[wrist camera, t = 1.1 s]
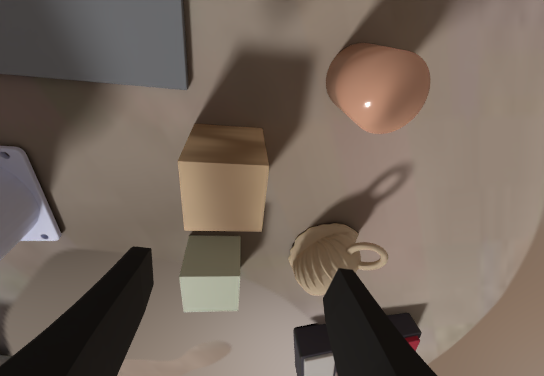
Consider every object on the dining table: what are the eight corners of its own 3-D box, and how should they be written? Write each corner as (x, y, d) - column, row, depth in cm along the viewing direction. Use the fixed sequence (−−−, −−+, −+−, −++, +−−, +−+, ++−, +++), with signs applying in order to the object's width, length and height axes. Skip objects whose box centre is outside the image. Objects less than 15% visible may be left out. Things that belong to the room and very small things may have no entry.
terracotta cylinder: (319, 107, 17) (341, 131, 14) (334, 38, 15) (364, 45, 12) (375, 111, 18) (411, 136, 14) (396, 46, 16) (444, 55, 12)
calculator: (407, 378, 36) (302, 402, 35) (390, 346, 40) (295, 366, 39) (427, 338, 30) (301, 364, 29) (405, 305, 34) (293, 326, 32)
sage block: (192, 268, 25) (183, 312, 21) (189, 234, 23) (179, 276, 19) (238, 268, 25) (238, 310, 22) (240, 235, 23) (240, 276, 19)
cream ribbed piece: (275, 248, 24) (283, 299, 20) (353, 200, 22) (381, 246, 18) (299, 269, 26) (311, 320, 22) (373, 227, 24) (403, 274, 20)
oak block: (197, 180, 20) (184, 230, 15) (194, 123, 17) (177, 161, 13) (257, 183, 20) (261, 231, 16) (262, 128, 18) (269, 165, 13)
